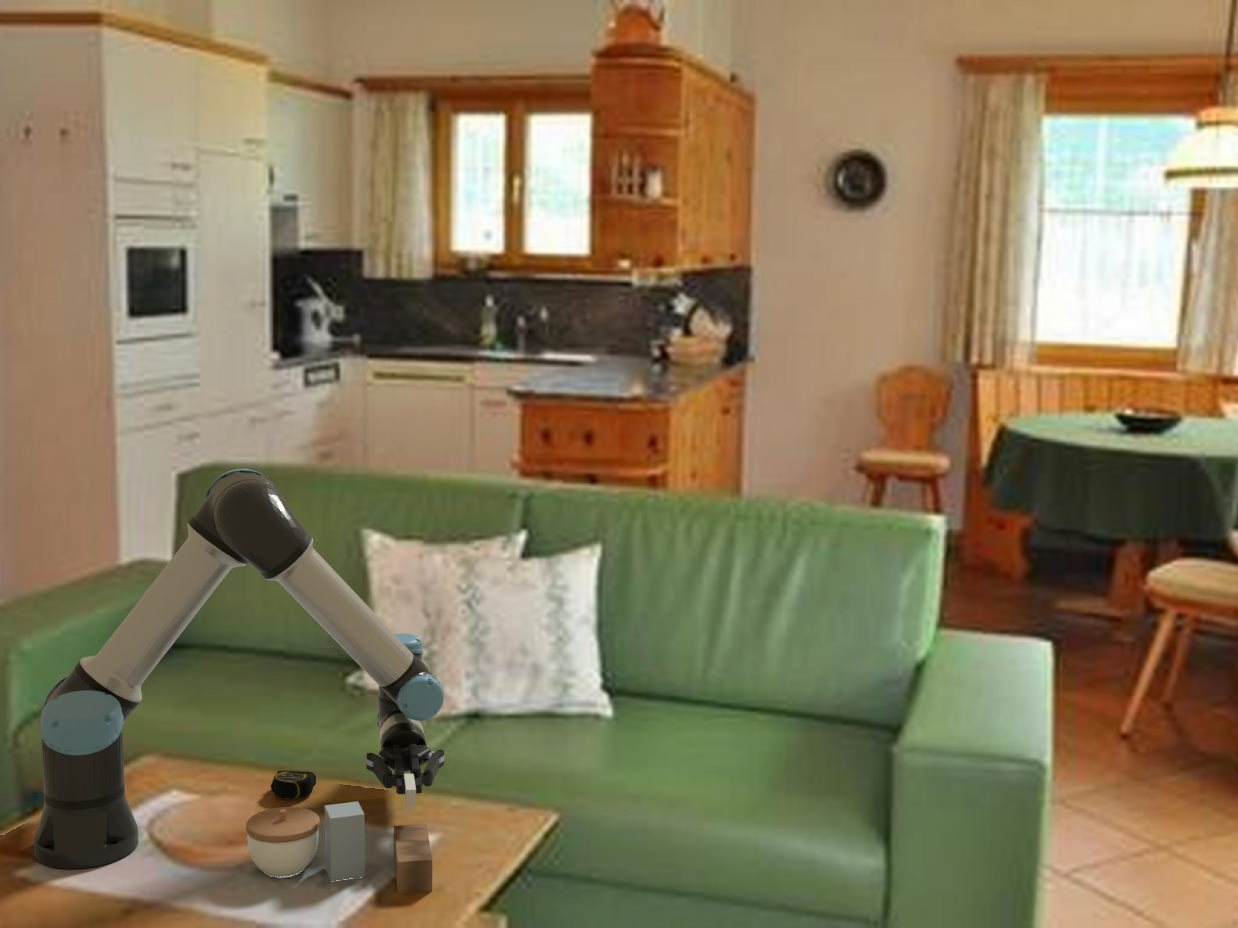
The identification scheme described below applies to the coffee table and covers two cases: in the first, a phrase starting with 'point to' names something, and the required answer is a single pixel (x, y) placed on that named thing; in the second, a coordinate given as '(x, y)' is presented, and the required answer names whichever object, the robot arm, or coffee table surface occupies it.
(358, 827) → the slate block
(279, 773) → the tape measure
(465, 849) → the coffee table surface
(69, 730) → the robot arm
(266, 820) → the lidded jar
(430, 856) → the walnut block
